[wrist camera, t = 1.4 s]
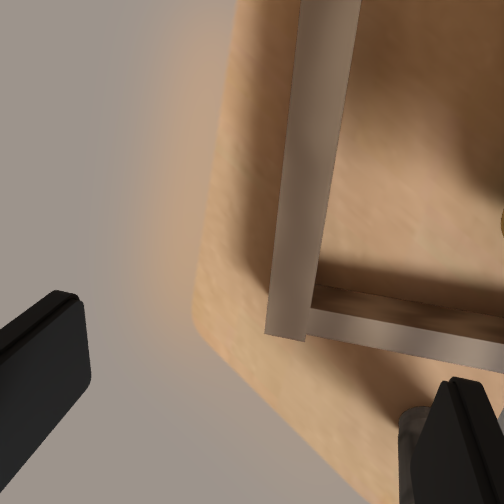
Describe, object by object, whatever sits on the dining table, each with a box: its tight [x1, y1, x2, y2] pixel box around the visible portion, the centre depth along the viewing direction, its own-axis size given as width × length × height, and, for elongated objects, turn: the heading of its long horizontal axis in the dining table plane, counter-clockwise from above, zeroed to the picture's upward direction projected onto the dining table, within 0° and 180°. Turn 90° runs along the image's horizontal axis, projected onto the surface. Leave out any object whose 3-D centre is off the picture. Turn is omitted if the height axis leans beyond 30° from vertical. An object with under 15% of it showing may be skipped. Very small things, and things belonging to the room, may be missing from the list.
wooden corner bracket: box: [264, 0, 504, 374], centre depth 26 cm, size 21×24×5 cm
